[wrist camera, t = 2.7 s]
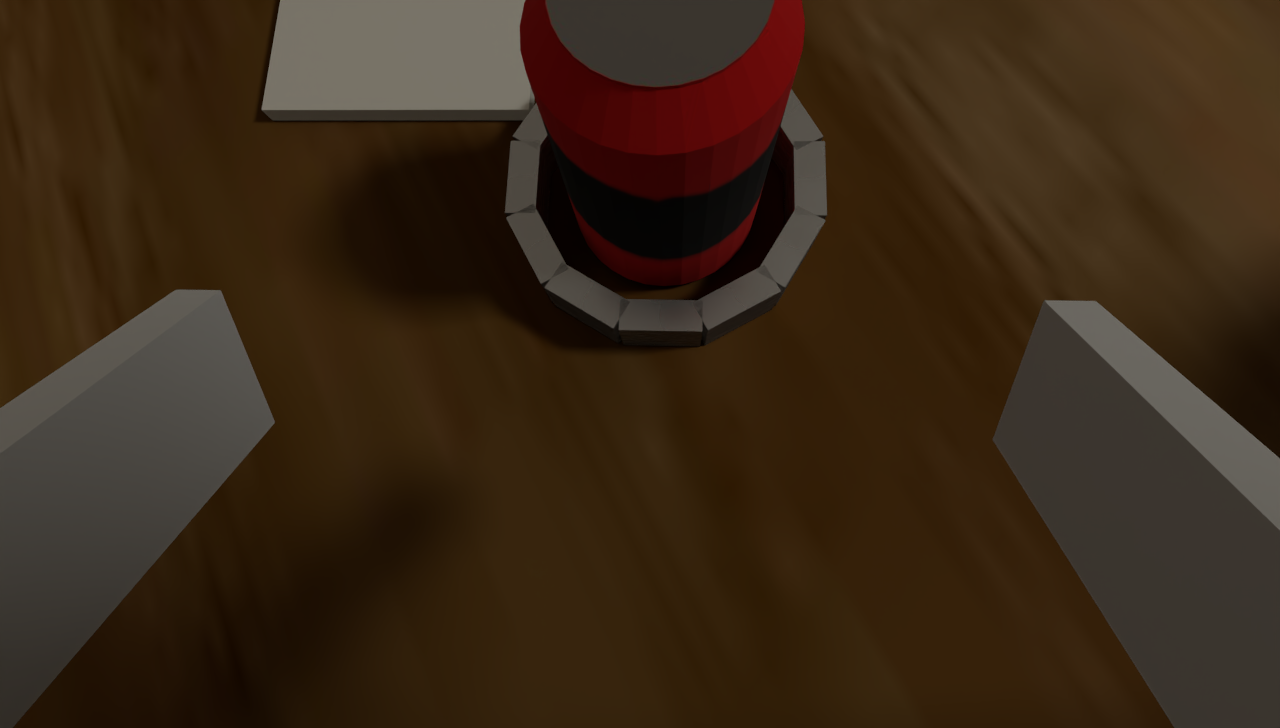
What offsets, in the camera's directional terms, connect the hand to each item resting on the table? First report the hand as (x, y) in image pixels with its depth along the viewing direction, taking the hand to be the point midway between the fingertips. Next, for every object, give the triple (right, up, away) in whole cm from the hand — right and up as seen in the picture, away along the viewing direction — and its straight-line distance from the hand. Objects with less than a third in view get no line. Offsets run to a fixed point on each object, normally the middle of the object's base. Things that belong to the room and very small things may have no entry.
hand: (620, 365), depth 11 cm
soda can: (+1, +7, +17) cm, 18 cm away
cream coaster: (-10, +17, +19) cm, 28 cm away
